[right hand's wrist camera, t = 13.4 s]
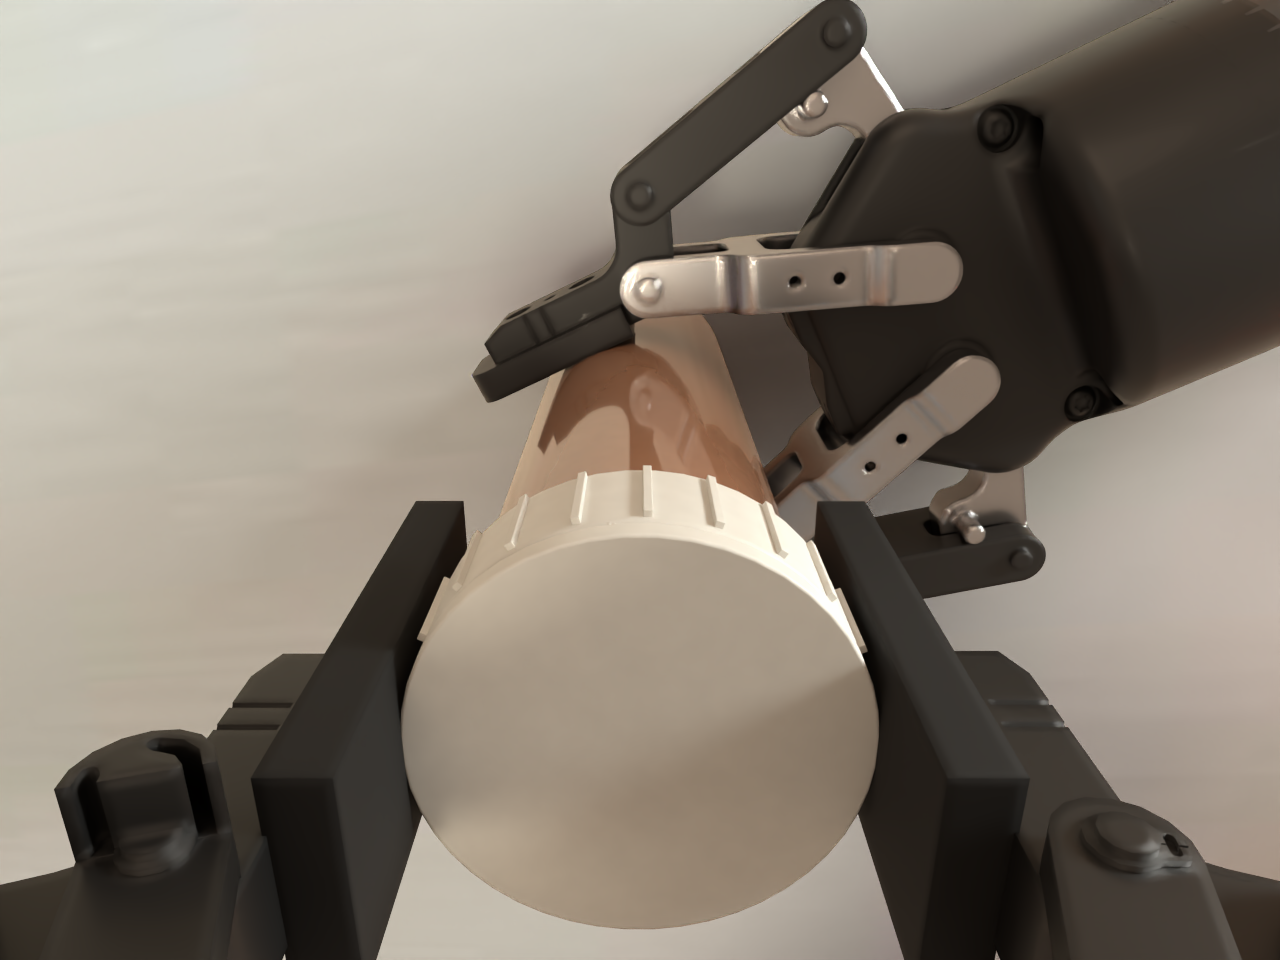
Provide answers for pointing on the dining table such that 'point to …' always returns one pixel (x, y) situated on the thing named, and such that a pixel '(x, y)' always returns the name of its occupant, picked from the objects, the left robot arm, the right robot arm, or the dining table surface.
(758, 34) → the dining table surface
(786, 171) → the dining table surface
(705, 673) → the lid
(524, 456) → the jar
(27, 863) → the dining table surface
